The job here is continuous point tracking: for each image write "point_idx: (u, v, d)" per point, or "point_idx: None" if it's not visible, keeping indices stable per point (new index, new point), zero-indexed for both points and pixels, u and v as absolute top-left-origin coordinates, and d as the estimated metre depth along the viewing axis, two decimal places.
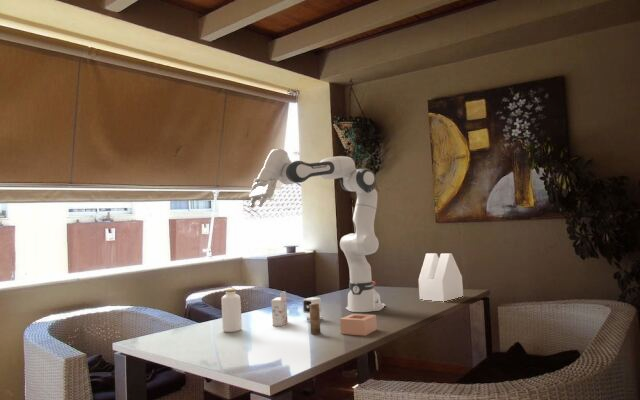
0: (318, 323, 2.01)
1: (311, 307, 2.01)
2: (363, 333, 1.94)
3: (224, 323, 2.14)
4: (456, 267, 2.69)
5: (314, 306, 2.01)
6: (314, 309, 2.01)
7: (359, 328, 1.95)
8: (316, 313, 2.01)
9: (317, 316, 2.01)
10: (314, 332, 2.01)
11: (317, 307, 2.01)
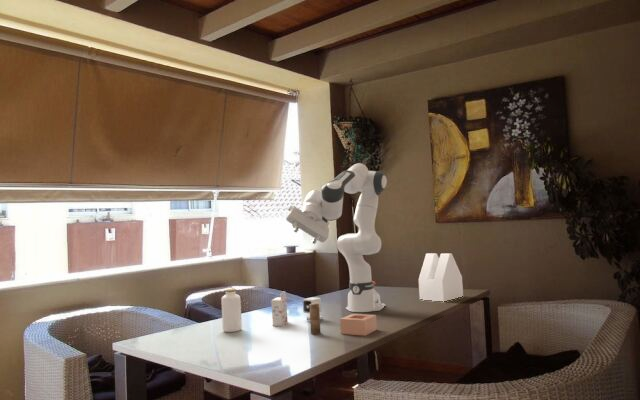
0: (318, 323, 2.01)
1: (311, 307, 2.01)
2: (363, 333, 1.94)
3: (224, 323, 2.14)
4: (456, 267, 2.69)
5: (314, 306, 2.01)
6: (314, 309, 2.01)
7: (359, 328, 1.95)
8: (316, 313, 2.01)
9: (317, 316, 2.01)
10: (314, 332, 2.01)
11: (317, 307, 2.01)
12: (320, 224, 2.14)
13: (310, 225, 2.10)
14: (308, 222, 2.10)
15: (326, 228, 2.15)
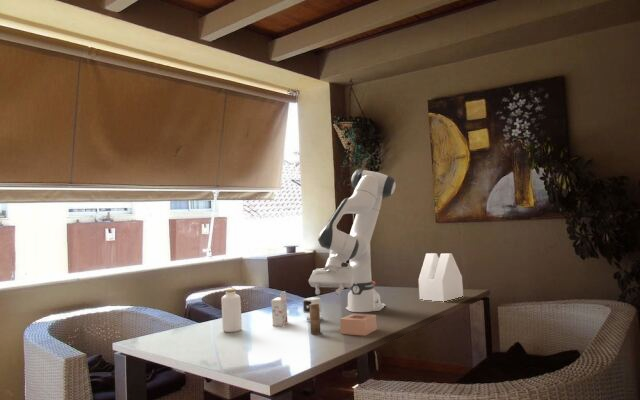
0: (318, 323, 2.01)
1: (311, 307, 2.01)
2: (363, 333, 1.94)
3: (224, 323, 2.14)
4: (456, 267, 2.69)
5: (314, 306, 2.01)
6: (314, 309, 2.01)
7: (359, 328, 1.95)
8: (316, 313, 2.01)
9: (317, 316, 2.01)
10: (314, 332, 2.01)
11: (317, 307, 2.01)
12: (341, 271, 2.15)
13: (330, 279, 2.14)
14: (328, 278, 2.15)
15: (348, 272, 2.14)
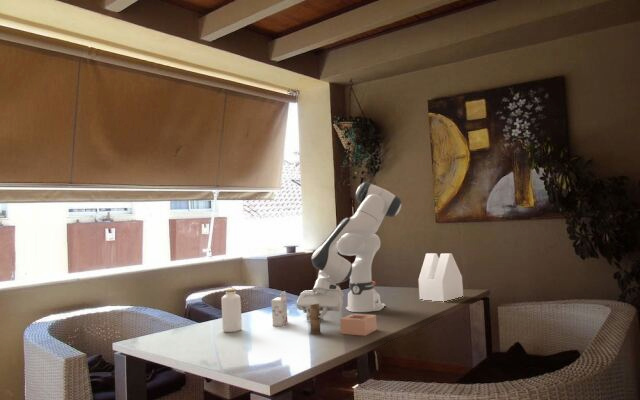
0: (318, 323, 2.01)
1: (311, 307, 2.01)
2: (363, 333, 1.94)
3: (224, 323, 2.14)
4: (456, 267, 2.69)
5: (314, 306, 2.01)
6: (314, 309, 2.01)
7: (359, 328, 1.95)
8: (316, 313, 2.01)
9: (317, 316, 2.01)
10: (314, 332, 2.00)
11: (317, 307, 2.01)
12: (330, 294, 2.06)
13: (318, 302, 2.05)
14: (315, 301, 2.06)
15: (336, 295, 2.04)
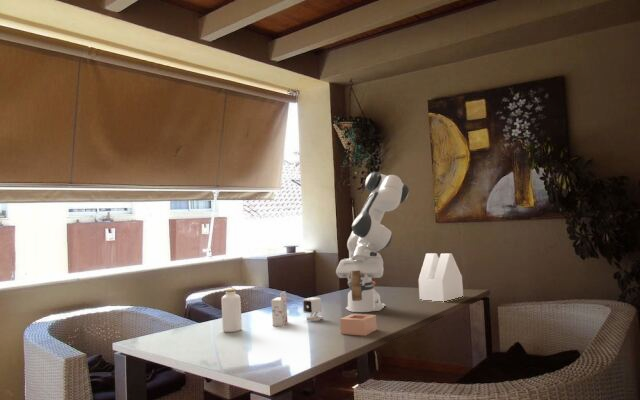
0: (360, 289, 2.00)
1: (352, 273, 2.01)
2: (363, 333, 1.94)
3: (224, 323, 2.14)
4: (456, 267, 2.69)
5: (356, 272, 2.00)
6: (356, 276, 2.00)
7: (359, 328, 1.95)
8: (358, 279, 2.00)
9: (359, 282, 2.00)
10: (356, 298, 2.00)
11: (358, 273, 2.01)
12: (370, 261, 2.05)
13: (359, 269, 2.04)
14: (356, 268, 2.05)
15: (377, 261, 2.03)
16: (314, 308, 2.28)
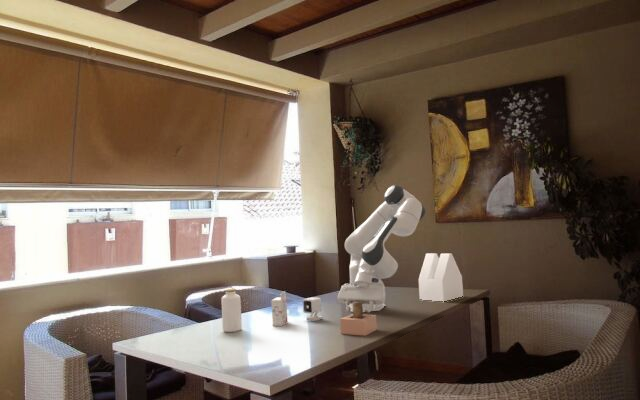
0: None
1: (354, 305, 2.00)
2: (363, 333, 1.94)
3: (224, 323, 2.14)
4: (456, 267, 2.69)
5: (358, 304, 2.00)
6: (358, 307, 1.99)
7: (359, 328, 1.95)
8: (360, 311, 2.00)
9: (361, 314, 2.00)
10: None
11: (361, 305, 2.00)
12: (372, 287, 2.05)
13: (360, 296, 2.04)
14: (358, 294, 2.05)
15: (379, 288, 2.03)
16: (314, 308, 2.28)
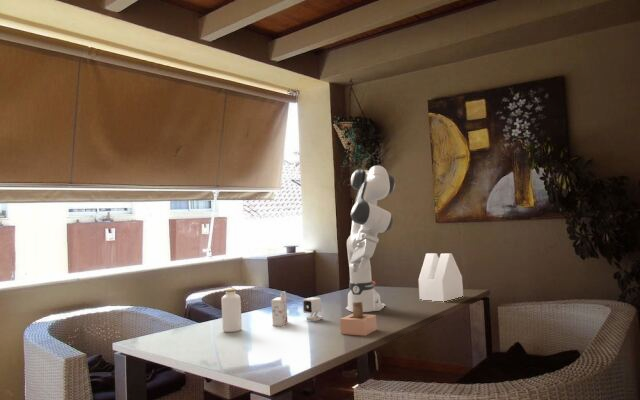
0: None
1: (355, 305, 2.00)
2: (363, 333, 1.94)
3: (224, 323, 2.14)
4: (456, 267, 2.69)
5: (358, 304, 2.00)
6: (358, 307, 1.99)
7: (359, 328, 1.95)
8: (360, 311, 2.00)
9: (361, 314, 2.00)
10: None
11: (361, 305, 2.00)
12: (363, 244, 2.08)
13: (358, 255, 2.10)
14: (357, 254, 2.12)
15: (365, 243, 2.05)
16: (314, 308, 2.28)
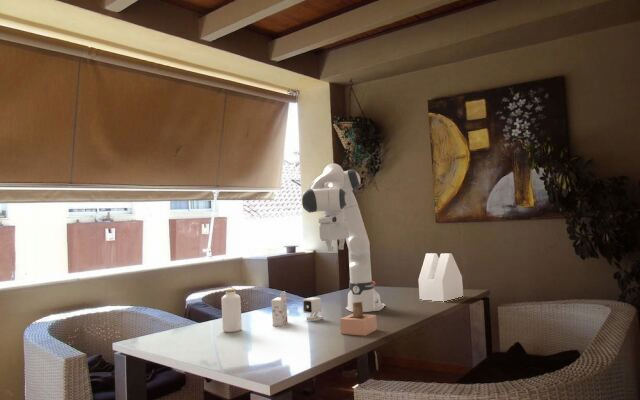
0: None
1: (355, 305, 2.00)
2: (363, 333, 1.94)
3: (224, 323, 2.14)
4: (456, 267, 2.69)
5: (358, 304, 2.00)
6: (358, 307, 1.99)
7: (359, 328, 1.95)
8: (360, 311, 2.00)
9: (361, 314, 2.00)
10: None
11: (361, 305, 2.00)
12: None
13: None
14: None
15: None
16: (314, 308, 2.28)
